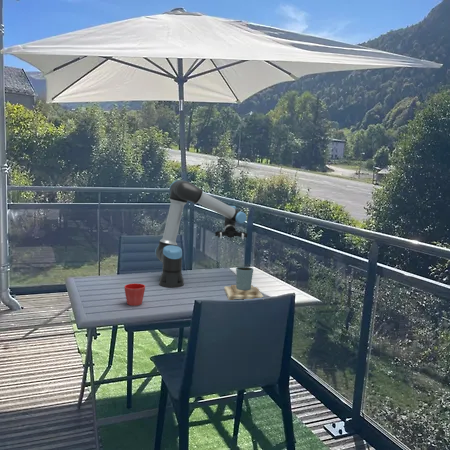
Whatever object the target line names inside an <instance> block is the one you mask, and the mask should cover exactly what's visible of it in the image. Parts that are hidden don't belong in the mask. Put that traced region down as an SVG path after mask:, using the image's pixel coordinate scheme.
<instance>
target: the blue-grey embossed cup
mask: <svg viewBox="0 0 450 450" xmlns="http://www.w3.org/2000/svg"><path fill="white" fill-rule="evenodd" d="M235 269H236V270H235V273H236V277H235V279H236V281H235V282H236V284H235V285H236V288H237V289H239V290H250V289H251V285H252V283H253V282H252V281H253V276H254V275H253V274H254V268H253V267H249V266H237V267H235Z"/></svg>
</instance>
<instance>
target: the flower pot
mask: <svg viewBox="0 0 450 450" xmlns="http://www.w3.org/2000/svg"><path fill="white" fill-rule="evenodd" d="M145 291H146V285H145V284H143V283H128V284H125V285H124V295H125V299H126V303H127V305H128V306H135V307H136V306H140V305H142V304H143V300H144V295H145Z"/></svg>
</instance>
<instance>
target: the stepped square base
mask: <svg viewBox="0 0 450 450" xmlns="http://www.w3.org/2000/svg"><path fill="white" fill-rule="evenodd" d="M223 288H224V292H225V295H226V296H227V299H228V300H229V301H235V300H234V299H253V298H262V297H264V295H263V294H262V292H261V290H259V288H258V287H257V286H254V285H252V284H251V289H250V290H239V289H237V288H236V284H231V285H229V286H224V287H223Z"/></svg>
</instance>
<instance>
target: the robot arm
mask: <svg viewBox="0 0 450 450" xmlns="http://www.w3.org/2000/svg"><path fill="white" fill-rule="evenodd" d="M169 193H170V194H169V198H168V199H169V201H170V204H169V209H168V212H167V217H166V218H167V219H166V223H165V226H164V227H165V228H164V231H163V236H162V238H161V239H160V240H159V241H158V245H157V246H156V248H155V250H154V253H155V254H154V255H155V257H156V258H157V261H159V262H160V263H162V271H161V275H160V277H159V283H158V284H159V286H161V287H164V288H179V287H183V286H184V283H185V282H184V276H183V273H182V265H183V250H182V249H183V248H181V247H180V246H178V243H177V237H178V233H179V232H178V231H179V228H180V224H181V219H182V216H183V212H184V207H185V205H186V204H188V202H191V203H193V204H195V205H197V204H198V205H201V206H203V207H204V208H207V209H208V210H211V211H213V212H215V213H217V214H219V215H221V216H223V217H224V223H223V224H224V225H223V229H220V230H217V231H215V234H214V236H215V237H218V238H220V240H221V239H223V238H222V237H223V236H225V237H226V238H230V239H231V238H235V237H240V238H241V239H242V240H244V239H245V238H248V235H249V234H248V233H247V232H245V231H244V232H243V231H242V230H239V231H238V230H237V229H236V223H237V224H243V223H245V222H246V221H247V215H246V213H245V212H244V211H241V210H239V209H237V206H235V205H229V204H227V203H225V202H224V201H221V200H219V199H217V198H215V197H213V196H211V195H209V194H207V193H206V192H204V191H203V189H201V188H200V187H197V186H196V185H195V184H193V183H192V182H189V181H188V180H187V181H186V180H183V179H182V180H181V179H179V180H178V179H176V180H174V181H173V182H172V183H171V184H170V185H169Z"/></svg>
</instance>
